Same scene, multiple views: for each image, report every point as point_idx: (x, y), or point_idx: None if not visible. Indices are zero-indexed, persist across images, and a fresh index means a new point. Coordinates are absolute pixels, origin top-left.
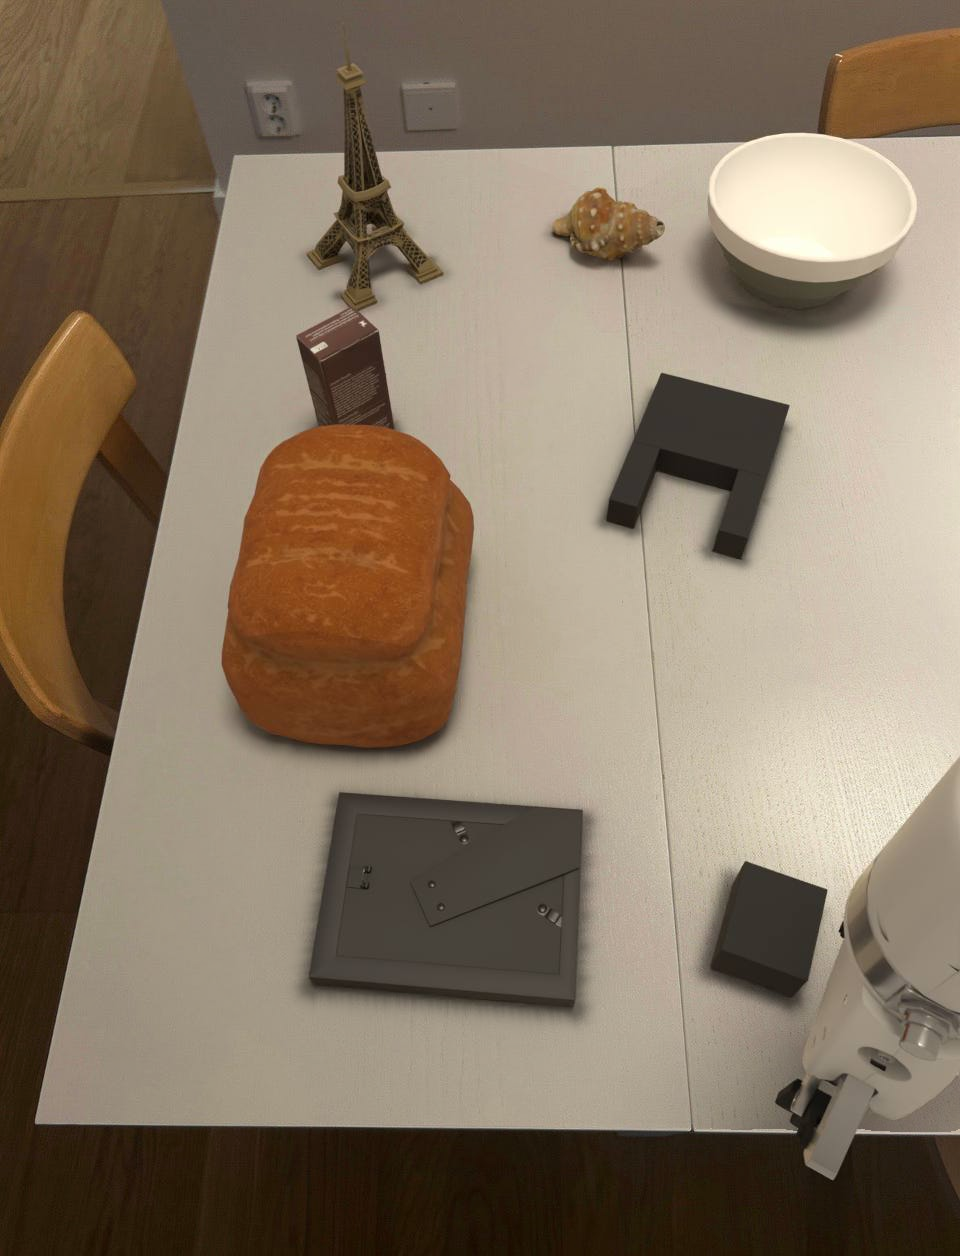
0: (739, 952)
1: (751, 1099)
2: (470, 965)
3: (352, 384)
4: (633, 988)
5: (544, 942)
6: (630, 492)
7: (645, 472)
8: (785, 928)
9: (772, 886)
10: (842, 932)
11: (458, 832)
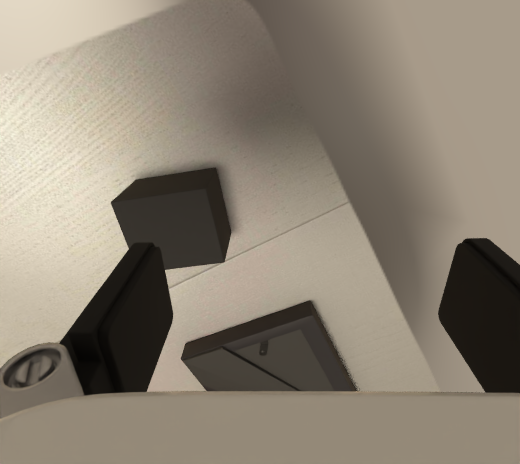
0: (217, 249)
1: (312, 166)
2: (323, 371)
3: None
4: (276, 272)
5: (284, 343)
6: None
7: None
8: (172, 223)
9: None
10: (168, 331)
11: None
